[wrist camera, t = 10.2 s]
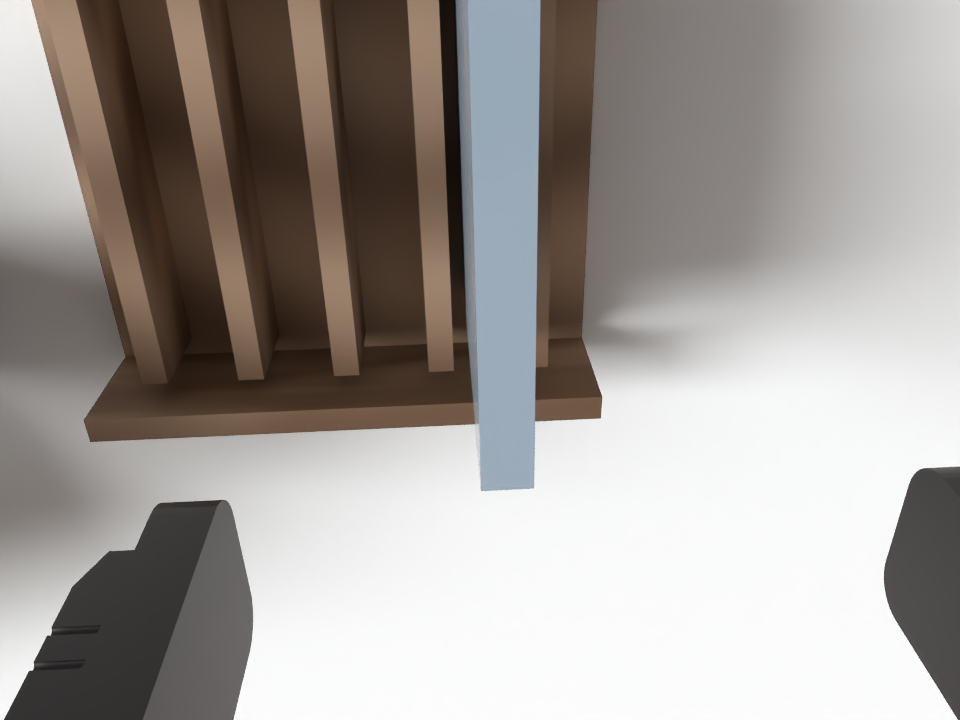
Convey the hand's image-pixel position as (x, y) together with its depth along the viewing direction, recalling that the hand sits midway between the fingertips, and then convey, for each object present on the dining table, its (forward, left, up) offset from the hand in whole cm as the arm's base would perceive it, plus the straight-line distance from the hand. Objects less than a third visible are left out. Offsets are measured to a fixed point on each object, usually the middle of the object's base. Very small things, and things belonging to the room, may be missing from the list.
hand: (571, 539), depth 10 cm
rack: (0, -5, -19) cm, 20 cm away
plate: (-1, 0, -18) cm, 18 cm away
